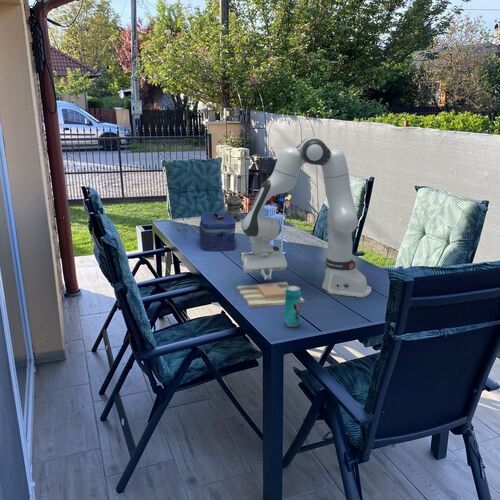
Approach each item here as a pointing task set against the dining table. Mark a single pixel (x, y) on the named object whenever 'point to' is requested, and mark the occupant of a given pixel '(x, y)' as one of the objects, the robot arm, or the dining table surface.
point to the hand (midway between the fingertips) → (268, 279)
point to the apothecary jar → (233, 206)
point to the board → (257, 300)
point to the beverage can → (292, 306)
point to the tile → (270, 292)
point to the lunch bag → (217, 232)
